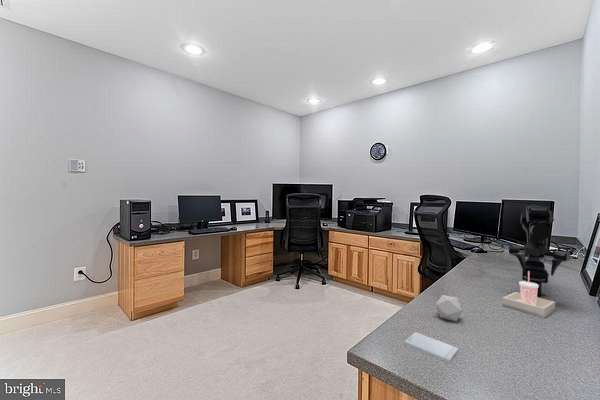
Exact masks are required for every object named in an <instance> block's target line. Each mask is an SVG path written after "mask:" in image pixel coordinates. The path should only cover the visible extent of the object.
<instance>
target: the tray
mask: <svg viewBox="0 0 600 400" xmlns="http://www.w3.org/2000/svg"><path fill="white" fill-rule="evenodd" d="M502 307H504V308H508V309H511V310H515V311H517V312H518V311H519V312H522V313H525V314H528V315H532V316H534V317H539V318H542V319H545V318H547V317H548V316H550V315H551V314H553V313H554V312H555V311H556V301H553V300H550V299H545V298H542V297H538V296H537V302H536V306H535V305H531V304H527V303H524V302H521V296H520V292H518V291H514V292H512V293H510V294H507V295H504V296H503V297H502Z"/></svg>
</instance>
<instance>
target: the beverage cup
mask: <svg viewBox="0 0 600 400" xmlns="http://www.w3.org/2000/svg"><path fill="white" fill-rule="evenodd" d="M529 273H530V271H528V282H526V280H522V281H518V285H519V293H520V296H521V302H524V303H527V304H531V305H535V306H536V302H537V297H538V296H537V291H538V288H539V287H538V286H539V285H538V284H536V283H532V282H529Z"/></svg>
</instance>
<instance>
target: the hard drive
mask: <svg viewBox="0 0 600 400" xmlns="http://www.w3.org/2000/svg"><path fill="white" fill-rule="evenodd" d="M403 343H404V345H405V346H407V347H409V348H412V349H415V350H417V351H419V352H421V353H424V354H426V355H429V356H431V357H434V358H436V359H439V360H441V361H443V362H446V363H447V364H451V363H452V362H453V360H454V359H455V357H456V356H457V354H458V353H459V352H460V348H458V347H456V346H453V345H451V344H449V343H446V342H443V341H441V340H437V339H435V338H432V337H429V336H426V335H424V334H422V333H420V332H416V331H415V332H414V333H412V334H411V335H410V336H409V337H408V338H406V339H405V340H404V342H403Z"/></svg>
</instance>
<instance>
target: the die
mask: <svg viewBox="0 0 600 400" xmlns="http://www.w3.org/2000/svg"><path fill="white" fill-rule="evenodd" d="M435 307H436V309H437V312H438V314H439V317H440V318H441V319H444V320H448V321H452V322H458V320H459V318H460V316H461V315H462V313H463V309H462V305H461V303H460V301H459V299H458V297H456V296H449V295H446V294H445V295H444V294H442V295H441V296H440V297H439V299H438V300H437V302H436V303H435Z"/></svg>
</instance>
